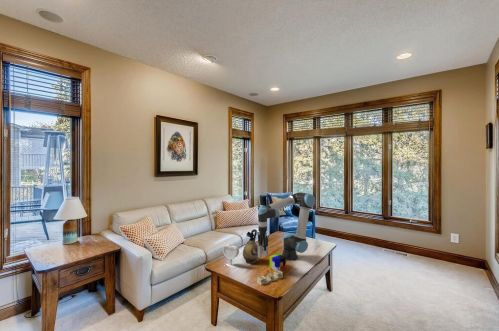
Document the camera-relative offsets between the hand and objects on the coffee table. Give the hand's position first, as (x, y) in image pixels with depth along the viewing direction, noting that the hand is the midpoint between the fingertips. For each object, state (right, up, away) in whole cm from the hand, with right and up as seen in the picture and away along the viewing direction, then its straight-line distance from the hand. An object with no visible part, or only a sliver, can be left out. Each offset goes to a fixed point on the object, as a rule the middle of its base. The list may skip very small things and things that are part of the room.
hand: (263, 253), depth 201 cm
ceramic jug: (-9, -15, +20) cm, 27 cm away
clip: (0, -2, 0) cm, 2 cm away
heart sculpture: (-28, -15, +11) cm, 34 cm away
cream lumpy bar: (+5, -15, -15) cm, 22 cm away
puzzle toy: (+13, -16, +7) cm, 21 cm away
